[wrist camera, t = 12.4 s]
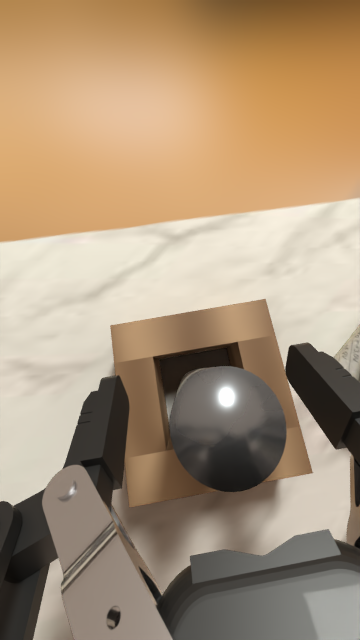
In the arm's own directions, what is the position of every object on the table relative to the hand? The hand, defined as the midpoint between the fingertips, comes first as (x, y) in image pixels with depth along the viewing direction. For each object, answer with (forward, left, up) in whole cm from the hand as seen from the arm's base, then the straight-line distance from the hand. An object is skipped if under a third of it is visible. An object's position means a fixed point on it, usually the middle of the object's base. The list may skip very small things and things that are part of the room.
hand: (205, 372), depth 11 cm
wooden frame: (0, -1, -8) cm, 8 cm away
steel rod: (0, -1, -8) cm, 8 cm away
